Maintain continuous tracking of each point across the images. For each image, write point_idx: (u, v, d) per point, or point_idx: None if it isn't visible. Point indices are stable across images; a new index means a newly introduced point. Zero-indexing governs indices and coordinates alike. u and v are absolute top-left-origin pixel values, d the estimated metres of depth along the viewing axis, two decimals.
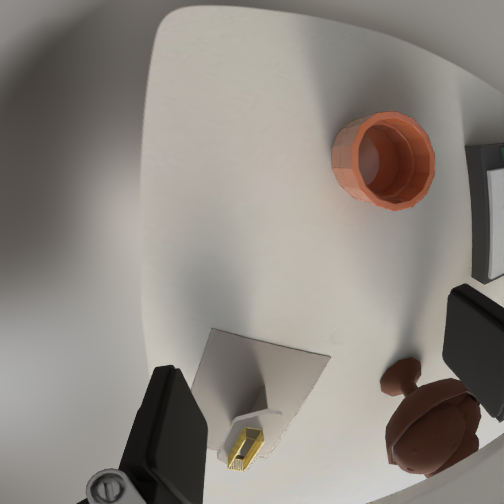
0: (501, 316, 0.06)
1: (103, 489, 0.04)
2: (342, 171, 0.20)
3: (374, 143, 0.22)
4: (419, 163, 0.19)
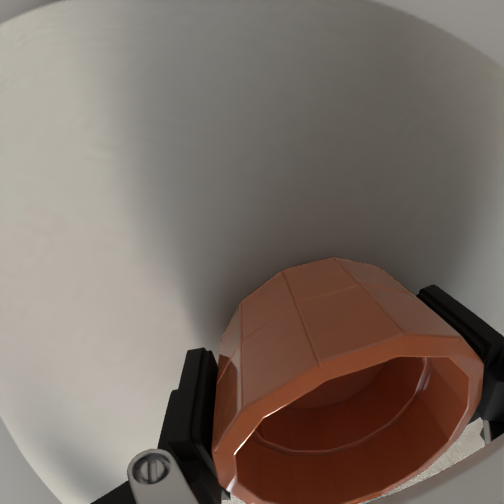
0: (465, 318, 0.07)
1: (146, 470, 0.05)
2: None
3: None
4: (436, 395, 0.07)
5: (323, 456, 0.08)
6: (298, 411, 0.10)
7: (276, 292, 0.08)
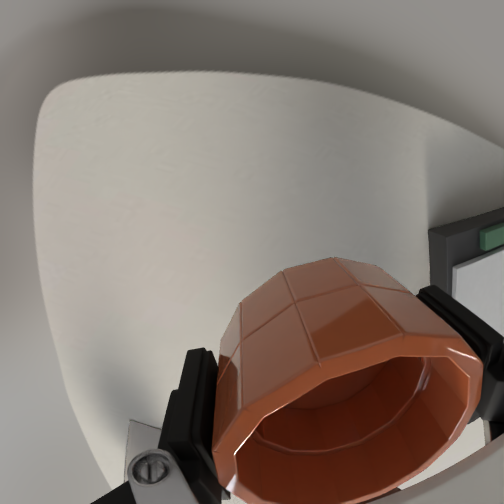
0: (465, 317, 0.07)
1: (146, 470, 0.05)
2: None
3: None
4: (436, 394, 0.07)
5: (323, 456, 0.08)
6: (298, 411, 0.10)
7: (276, 292, 0.08)
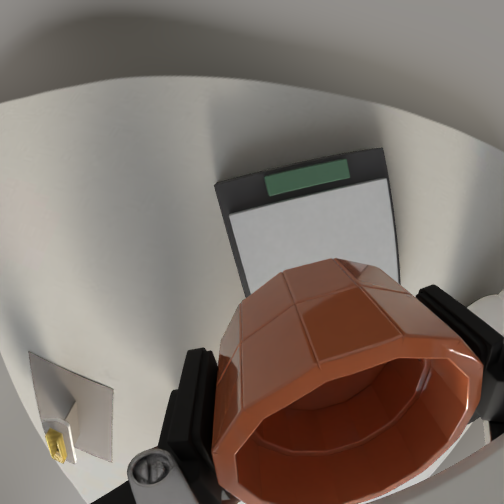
0: (465, 318, 0.07)
1: (146, 470, 0.05)
2: None
3: None
4: (435, 395, 0.07)
5: (323, 456, 0.08)
6: (297, 411, 0.10)
7: (276, 293, 0.08)
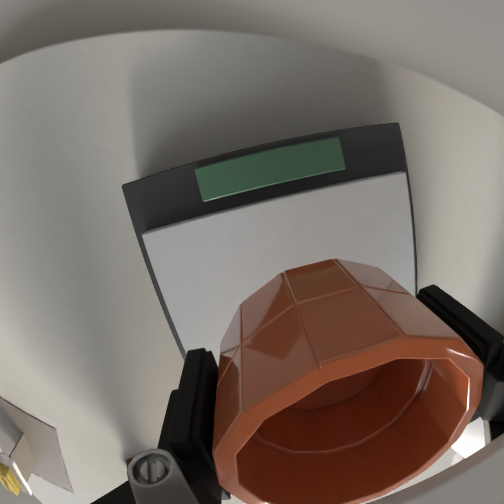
0: (465, 318, 0.07)
1: (146, 470, 0.05)
2: None
3: None
4: (436, 395, 0.07)
5: (323, 457, 0.08)
6: (298, 412, 0.10)
7: (276, 294, 0.08)
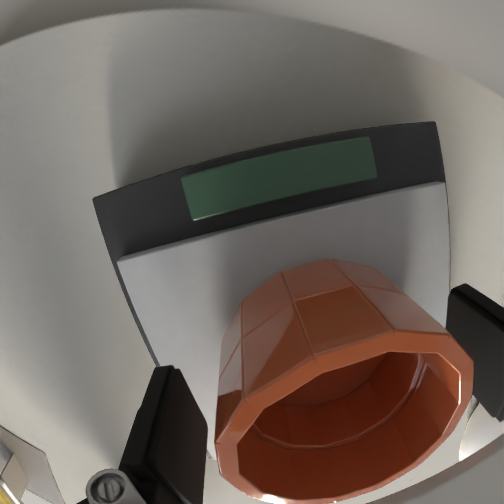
0: (501, 316, 0.06)
1: (103, 489, 0.04)
2: None
3: None
4: (429, 391, 0.07)
5: (321, 451, 0.09)
6: (297, 407, 0.10)
7: (275, 292, 0.08)
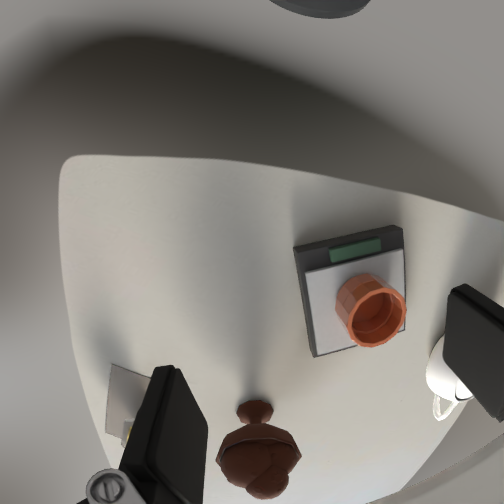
0: (501, 316, 0.06)
1: (103, 489, 0.04)
2: (341, 320, 0.30)
3: None
4: (395, 310, 0.30)
5: (365, 334, 0.31)
6: (354, 322, 0.33)
7: (355, 281, 0.30)
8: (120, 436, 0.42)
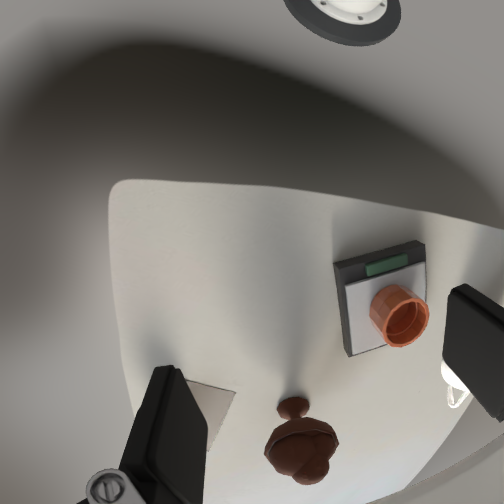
0: (501, 316, 0.06)
1: (103, 489, 0.04)
2: (376, 325, 0.34)
3: None
4: (420, 315, 0.34)
5: (394, 335, 0.35)
6: None
7: (387, 292, 0.34)
8: None
